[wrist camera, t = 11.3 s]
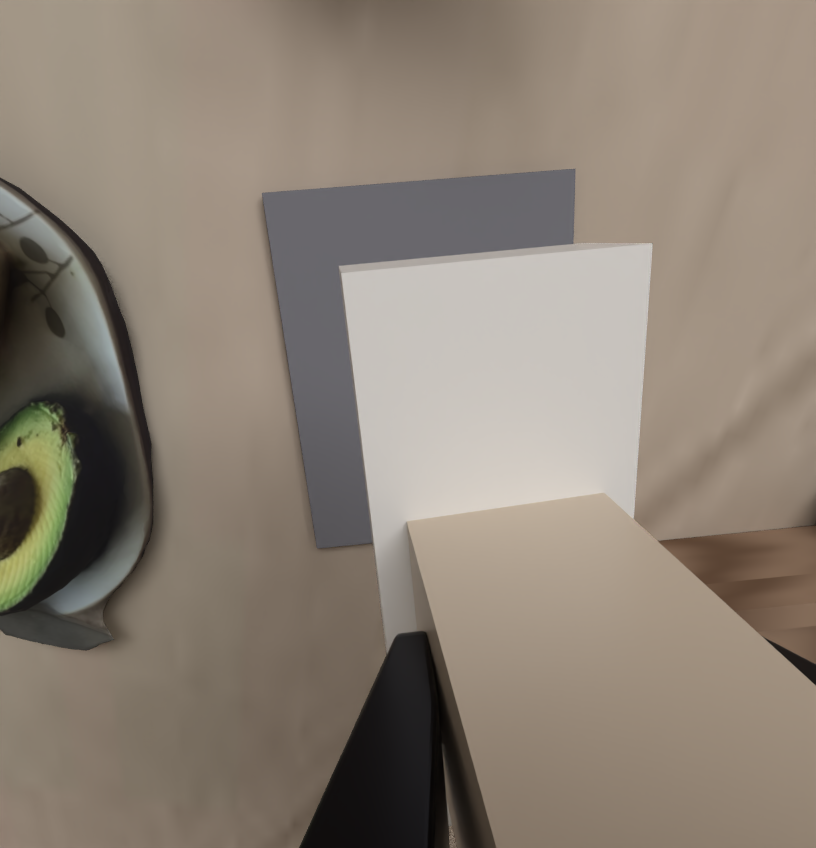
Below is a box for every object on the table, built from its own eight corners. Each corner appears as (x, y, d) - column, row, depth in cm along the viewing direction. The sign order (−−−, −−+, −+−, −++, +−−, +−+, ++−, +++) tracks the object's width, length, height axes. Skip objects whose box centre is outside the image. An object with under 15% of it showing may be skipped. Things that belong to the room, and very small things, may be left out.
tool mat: (571, 170, 17) (575, 168, 17) (562, 519, 22) (565, 524, 21) (264, 193, 17) (261, 193, 17) (317, 542, 21) (317, 548, 21)
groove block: (816, 525, 22) (919, 592, 18) (766, 763, 27) (838, 860, 23) (514, 555, 22) (547, 630, 18) (516, 791, 27) (542, 895, 23)
